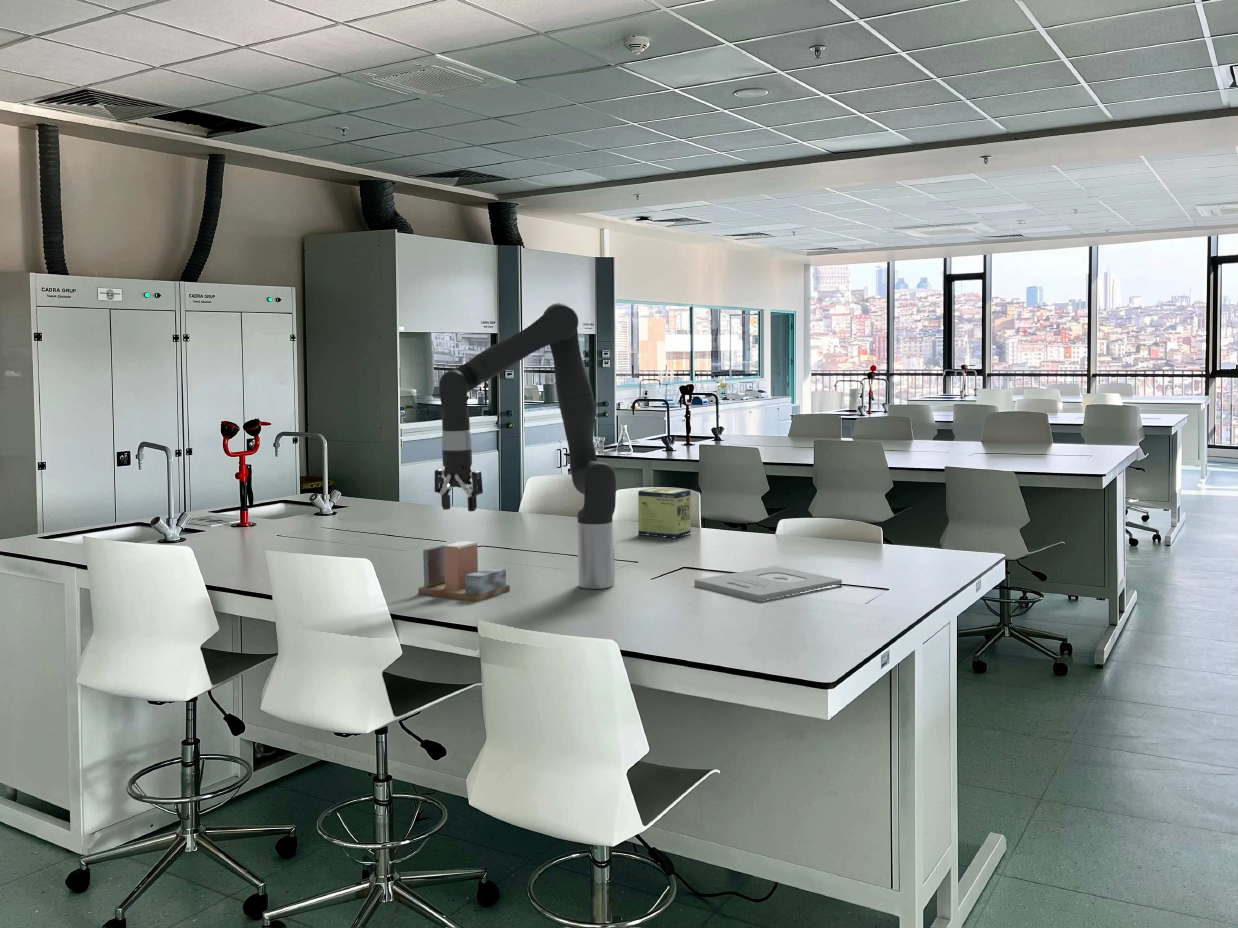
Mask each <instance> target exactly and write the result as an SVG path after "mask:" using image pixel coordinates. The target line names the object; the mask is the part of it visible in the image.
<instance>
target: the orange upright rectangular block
mask: <svg viewBox="0 0 1238 928" xmlns="http://www.w3.org/2000/svg"><path fill="white" fill-rule="evenodd" d="M443 545H444V573H445V588H447V589H455V590H460V589H464V588H465V575H467V574H471V573H474V572H478V571H479V564H478V563H479V559H478V554H479V553H478V542H477V541H470V540H469V541H466V540H461V541H457V542H453V543H448V545H447V544H443Z"/></svg>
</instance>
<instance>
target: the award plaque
mask: <svg viewBox="0 0 1238 928" xmlns="http://www.w3.org/2000/svg"><path fill="white" fill-rule="evenodd" d="M841 583H842V584H843V580H842V579H840V578H836V577H831V576H826V575H821V574H815V573H811V572H806V571H802V570H797V569H791V568H787V567H782V566H776V565H773V566H767V567H762V568H755V569H749V570H744V571H737V572H732V573H725V574H721V575H720V574H719V575H715V576H710V577H709V576H708V577H704V578H698V579H694V587H696V588H697V587H698V588H702V589H705V590H709V591H713V592H717V593H721V594H725V595H729V596H733V597H737V598H741V597H743V598H742V599H745V598H747V599H746V600H749V599H753V600H756V601H755V602H757V601H763V600H767V599H772V598H777V597H782V596H786V595H792V594H796V593H800V592H805V591H809V590H814V589H818V588H823V587H827V586H832V585H836V584H841ZM753 600H752V601H753Z"/></svg>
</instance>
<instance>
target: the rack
mask: <svg viewBox="0 0 1238 928" xmlns="http://www.w3.org/2000/svg"><path fill="white" fill-rule="evenodd" d="M510 591H511V586H510V584H507V569H506V568H497V567H490V568H486V569H482V570H478V572H474V573H471V574H467V575H465V588H464V589H460V590H455V589H447V588H445V582H444V583H440V584H436V585H433V586H424V585H423V586H419V587H418V592H417V593H418V594H419V595H420V594H421V595H428V596H433V597H434V596H435V597H442V598H446V599H447V598H448V599H449V598H450V599H454V600H463V601H470V602H477V601H478V602H479V601H481V600H484V599H489V598H491V597H495V596H498V595H501V594H504V593H507V592H510Z"/></svg>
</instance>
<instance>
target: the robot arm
mask: <svg viewBox="0 0 1238 928" xmlns="http://www.w3.org/2000/svg"><path fill="white" fill-rule="evenodd" d="M578 326H579V318H578V314H577V312H576V311H575V309H574V308H572V307H571V306H570V305H568V304H566V303H560V302H559V303H558V302H557V303H553V304H551V305H549V306H548V307H547V308H546V309H545V310H544V312H543V314H542V315H541V316H540V317H539V318H537V319H536V320H535V321H534V322H532V323H531V324H530V325H528V326H527V327H526V328H524V329H523V330H521V331H519V332H517V333H515V334H513V335H511V336H510V337H507V338H505V339H503V340H501V341H498V342H497V343H495V344H493V345H491V346H490V347H488V348H486V349H484V350H482V351H481V352H479V353H477V354H476V355H474V356H473V357H472V358H471V359H470V360H469V361H467V362H465V363H463V364H462V365H460V366H458V367H455V369H452V370H449V371H445V373H443V374H442V375H441V377H440V379H439V385H438V387H439V389H438V391H439V400H440V406H441V414H442V415H441V429H442V431H441V434H442V435H441V451H442V452H441V455H442V457H441V458H442V466H443V467H444V468H439V469H436V470H434V492H435V493H438V494H439V495H440V496H441V498H440V499H441V507H442V510H445V511H446V510H450V509H451V495H450V493H451V490H452V489H454V488H462V490H463V491H465V493H466V495H467V496H468V497H467V511H468V512H475V511H476V510H477V507H478V506H477V505H478V504H477V496H479V495H482V494H483V492H484V489H483V477H482V471H480V470H476V471H472V469H471V467H472V464H473V456H472V455H473V454H472V451H473V450H472V436H471V429H470V428H471V427H470V425H471V424H470V421H471V420H470V413H469V410H468V398H467V397H468V396H467V395H468V393H469V392H471V391H472V390H473V389H476V388H477V387H478V386H480V384H482V383H484V382H486V381H489V380H491V379H493V378H495V377H496V376H498V375H499V374H501V373H503V372H504V371H507V370H508V369H509V368H510V367H513V366H514V365H516V364H517V363H518V362H520V361H523V359H525V358H526V357H528V356H529V355H532V354H533V353H535V352H537V351H539V350H540V349H541V350H542V349H543V348H545V347H547V346H549V347H550V348H549V349H550V350H551V355H552V359H553V367H554V379H555V380H554V381H555V388H556V396H557V400H558V401H557V402H558V405H559V406H558V407H559V410H560V416H561V419H562V423H563V428H564V432H565V437H566V441H567V447H568V454H569V461H570V462H569V463H570V473H571V479H572V484H573V486H574V488H575V489H576V491H578V492H579V493H580V494H582V495H584V497H583V500H584V501H583V507H582V509H580V510H579V511H578V512H577V557H578V558H577V559H578V560H577V561H578V562H577V563H578V567H577V568H578V569H577V570H578V587H579V588H581V589H582V588H583V589H591V590H599V589H600V590H601V589H607V588H612V587H613V586H614V584H615V549H614V548H613V547H614V542H613V539H614V537H613V536H614V533H613V532H614V531H613V516H614V514H615V510H616V501H617V499H616V498H617V496H616V495H617V479H616V474H615V472H614V469H613V467H612V466H611V465H610V464H608V463H605V462H601V461H598V458H597V453H596V449H595V444H594V432H595V431H594V430H595V424H596V416H597V415H596V414H597V411H596V410H597V409H596V403H595V397H594V393H593V392H594V391H593V388H592V385H591V381H590V378H589V374H588V371H587V369H586V366H585V363H584V360H583V358H582V353H581V349H580V341H579V332H578V328H579V327H578Z"/></svg>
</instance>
